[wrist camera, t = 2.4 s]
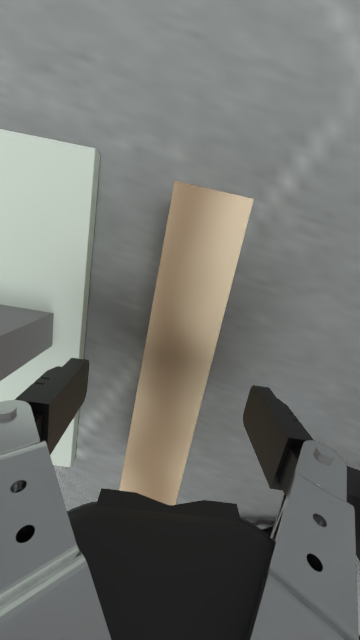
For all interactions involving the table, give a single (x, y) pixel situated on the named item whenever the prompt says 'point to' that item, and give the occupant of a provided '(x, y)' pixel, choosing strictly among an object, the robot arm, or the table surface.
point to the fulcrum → (44, 262)
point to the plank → (182, 335)
